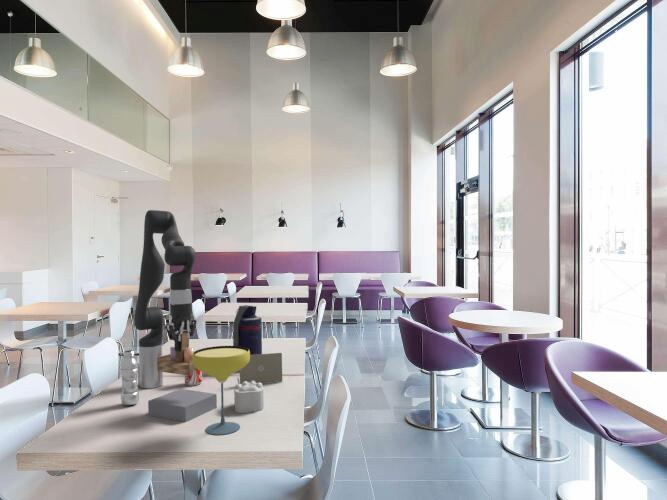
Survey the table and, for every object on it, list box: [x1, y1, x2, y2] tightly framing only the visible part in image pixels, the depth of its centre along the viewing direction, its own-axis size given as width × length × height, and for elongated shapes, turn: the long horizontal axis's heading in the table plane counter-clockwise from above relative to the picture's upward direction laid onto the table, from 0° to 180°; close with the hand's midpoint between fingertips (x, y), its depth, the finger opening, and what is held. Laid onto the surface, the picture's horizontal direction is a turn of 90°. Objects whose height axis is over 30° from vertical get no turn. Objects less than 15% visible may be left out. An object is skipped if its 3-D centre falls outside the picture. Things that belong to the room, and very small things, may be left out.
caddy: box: [157, 332, 198, 376], centre depth 179 cm, size 15×9×14 cm, turn 64°
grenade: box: [232, 304, 263, 355], centre depth 239 cm, size 14×12×30 cm
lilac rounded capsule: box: [169, 346, 176, 361], centre depth 180 cm, size 3×3×4 cm
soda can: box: [184, 369, 203, 387], centre depth 214 cm, size 7×7×13 cm
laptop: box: [237, 352, 283, 385], centre depth 219 cm, size 18×12×13 cm
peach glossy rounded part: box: [184, 347, 195, 363], centre depth 178 cm, size 3×3×4 cm
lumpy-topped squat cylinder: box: [233, 381, 265, 414], centre depth 183 cm, size 10×13×9 cm
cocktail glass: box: [192, 345, 250, 436], centre depth 161 cm, size 18×18×25 cm
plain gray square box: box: [147, 388, 218, 423], centre depth 179 cm, size 17×16×5 cm
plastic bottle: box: [119, 349, 140, 406], centre depth 188 cm, size 6×7×20 cm
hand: (181, 350), depth 179 cm, fingers closed on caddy, 3 cm apart
